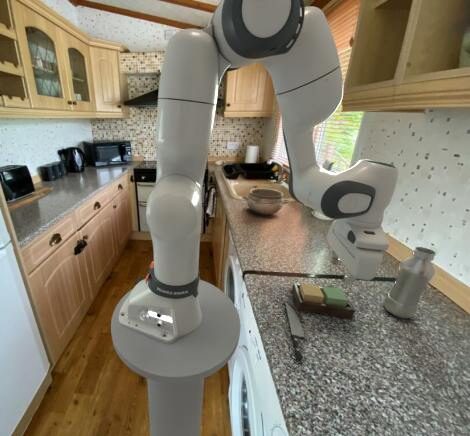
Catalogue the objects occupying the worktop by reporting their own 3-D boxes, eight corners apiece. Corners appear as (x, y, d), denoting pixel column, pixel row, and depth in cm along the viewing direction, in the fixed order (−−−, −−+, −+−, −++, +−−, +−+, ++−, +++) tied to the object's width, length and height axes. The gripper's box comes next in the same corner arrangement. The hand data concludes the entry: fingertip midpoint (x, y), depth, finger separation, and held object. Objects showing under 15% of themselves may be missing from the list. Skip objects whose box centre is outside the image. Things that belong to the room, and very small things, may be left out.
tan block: (301, 305, 69) (304, 294, 67) (297, 293, 74) (300, 283, 72) (320, 308, 68) (324, 297, 67) (315, 296, 73) (318, 285, 71)
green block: (324, 308, 68) (328, 297, 66) (319, 296, 72) (322, 286, 71) (344, 311, 67) (348, 300, 65) (337, 299, 71) (341, 288, 70)
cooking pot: (283, 209, 142) (287, 189, 137) (289, 221, 125) (294, 199, 120) (240, 205, 147) (242, 185, 142) (240, 217, 130) (242, 195, 125)
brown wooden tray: (298, 310, 68) (300, 302, 67) (291, 290, 76) (293, 282, 74) (352, 318, 65) (355, 310, 64) (339, 297, 73) (342, 289, 72)
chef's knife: (295, 305, 70) (284, 302, 71) (296, 301, 70) (285, 299, 70) (311, 365, 53) (296, 361, 54) (312, 361, 53) (298, 357, 53)
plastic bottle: (415, 325, 63) (449, 260, 56) (383, 315, 66) (411, 252, 59) (409, 309, 69) (439, 248, 61) (379, 301, 72) (404, 241, 64)
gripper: (327, 210, 70) (315, 251, 75) (361, 244, 52) (342, 295, 57) (352, 212, 69) (338, 254, 74) (394, 248, 50) (372, 300, 56)
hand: (340, 272), depth 65 cm, fingers open, 8 cm apart
